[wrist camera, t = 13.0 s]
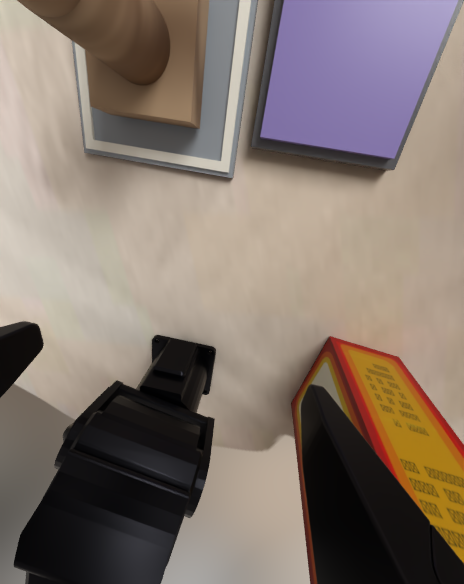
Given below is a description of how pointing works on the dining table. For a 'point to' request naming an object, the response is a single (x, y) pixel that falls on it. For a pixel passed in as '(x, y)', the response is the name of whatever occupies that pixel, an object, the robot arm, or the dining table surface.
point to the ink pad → (349, 76)
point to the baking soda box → (391, 433)
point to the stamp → (138, 54)
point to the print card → (214, 112)
